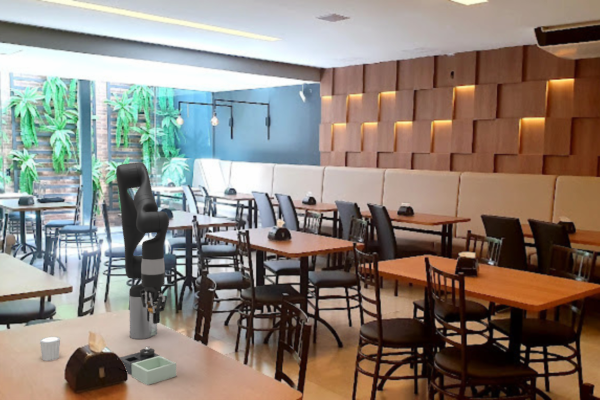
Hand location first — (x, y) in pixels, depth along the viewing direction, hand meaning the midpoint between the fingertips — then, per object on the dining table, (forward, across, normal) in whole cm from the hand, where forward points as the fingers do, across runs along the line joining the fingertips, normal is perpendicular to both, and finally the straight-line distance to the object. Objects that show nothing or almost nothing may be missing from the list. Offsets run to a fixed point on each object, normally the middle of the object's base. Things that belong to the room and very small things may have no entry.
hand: (153, 321), depth 192 cm
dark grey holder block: (+19, +11, -1) cm, 22 cm away
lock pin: (+4, 0, 0) cm, 4 cm away
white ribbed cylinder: (+19, +41, +18) cm, 49 cm away
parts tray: (+19, 0, 0) cm, 19 cm away
